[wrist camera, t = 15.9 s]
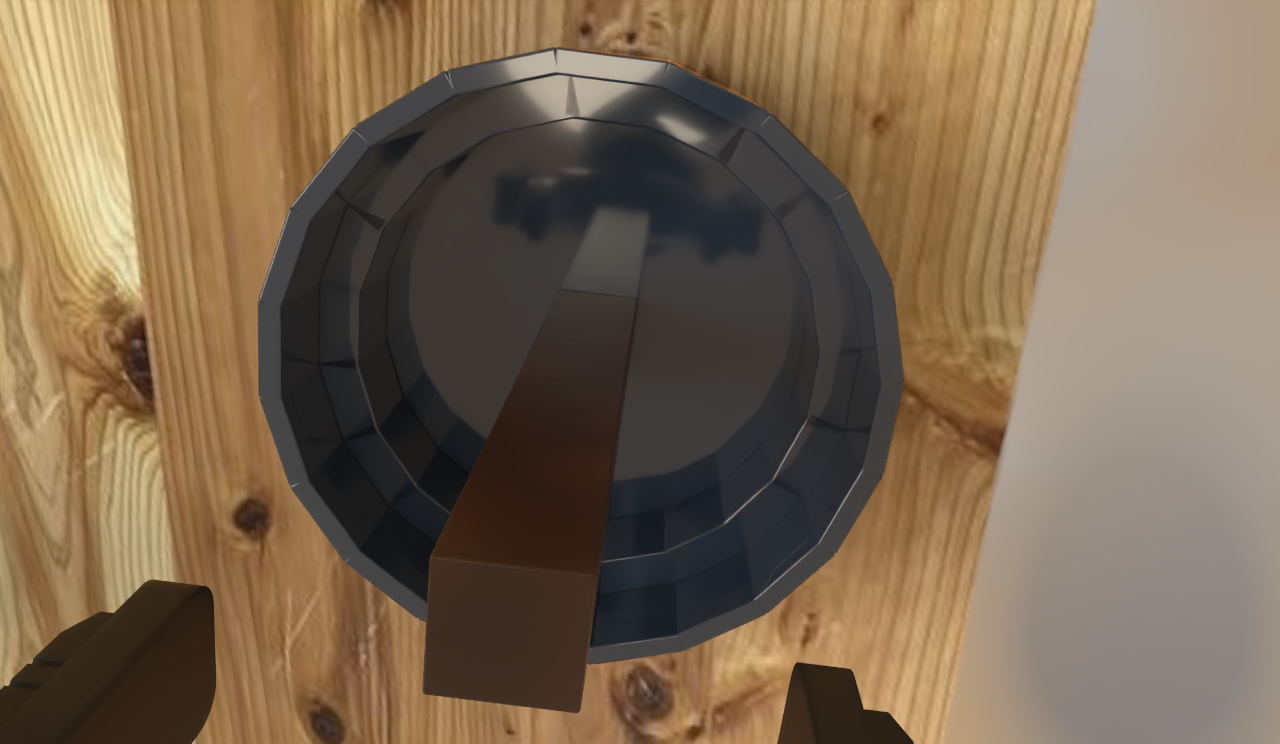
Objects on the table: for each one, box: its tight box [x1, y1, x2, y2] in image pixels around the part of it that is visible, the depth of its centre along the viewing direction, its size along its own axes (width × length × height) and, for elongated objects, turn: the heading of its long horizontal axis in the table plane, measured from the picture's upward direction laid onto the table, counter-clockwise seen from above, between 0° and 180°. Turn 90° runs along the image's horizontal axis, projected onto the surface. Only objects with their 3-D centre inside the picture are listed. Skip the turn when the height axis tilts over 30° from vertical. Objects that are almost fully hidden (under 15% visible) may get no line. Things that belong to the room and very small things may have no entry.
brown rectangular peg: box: [423, 289, 637, 713], centre depth 21 cm, size 2×2×16 cm
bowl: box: [258, 47, 904, 664], centre depth 27 cm, size 16×16×6 cm
